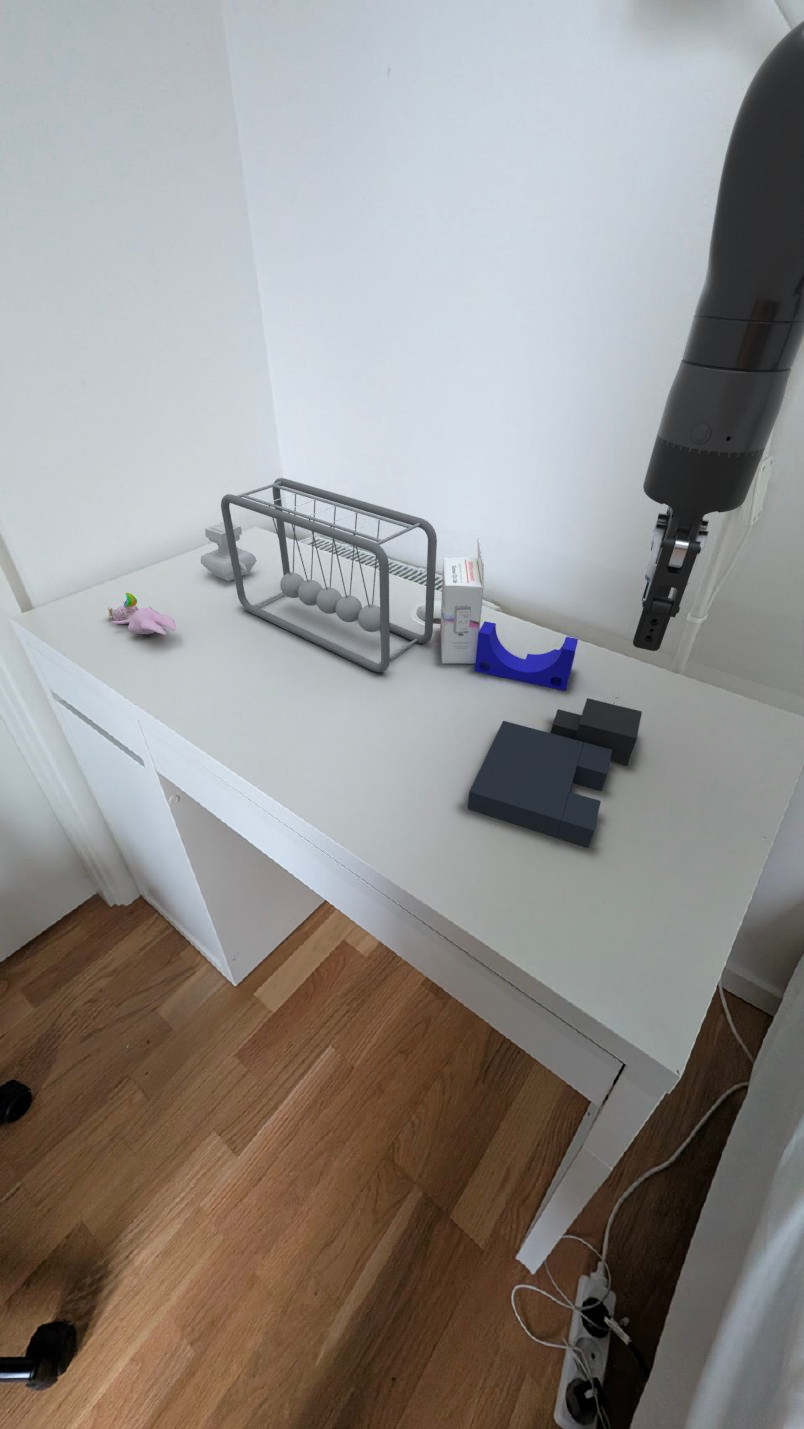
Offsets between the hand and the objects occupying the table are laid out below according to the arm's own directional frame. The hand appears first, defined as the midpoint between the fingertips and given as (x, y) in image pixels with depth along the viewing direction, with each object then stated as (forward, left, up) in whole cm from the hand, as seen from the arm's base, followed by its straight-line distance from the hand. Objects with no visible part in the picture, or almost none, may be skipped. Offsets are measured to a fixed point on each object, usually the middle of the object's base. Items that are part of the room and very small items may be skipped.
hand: (649, 624), depth 53 cm
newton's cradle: (+42, -13, -17) cm, 47 cm away
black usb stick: (+2, -2, -17) cm, 17 cm away
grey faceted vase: (+66, -21, -17) cm, 71 cm away
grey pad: (+6, +7, -17) cm, 19 cm away
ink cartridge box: (+23, -15, -17) cm, 32 cm away
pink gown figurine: (+66, 0, -17) cm, 68 cm away
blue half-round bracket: (+13, -13, -17) cm, 25 cm away
